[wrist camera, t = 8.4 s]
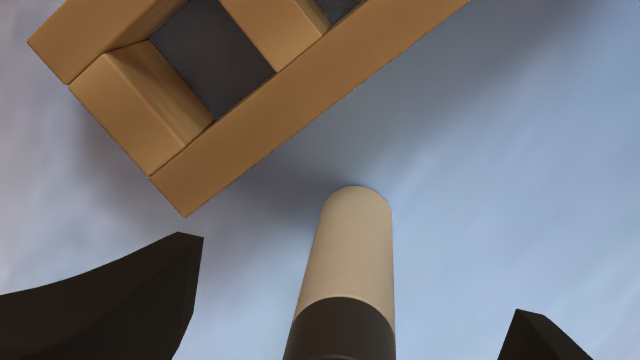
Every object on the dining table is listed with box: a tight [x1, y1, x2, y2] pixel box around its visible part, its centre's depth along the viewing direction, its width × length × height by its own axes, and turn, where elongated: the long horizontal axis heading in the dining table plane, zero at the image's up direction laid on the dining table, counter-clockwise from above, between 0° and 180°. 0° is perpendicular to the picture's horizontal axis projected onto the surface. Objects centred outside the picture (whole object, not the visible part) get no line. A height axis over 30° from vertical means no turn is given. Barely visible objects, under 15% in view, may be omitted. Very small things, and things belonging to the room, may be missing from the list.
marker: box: [283, 186, 396, 360], centre depth 14 cm, size 2×2×8 cm
